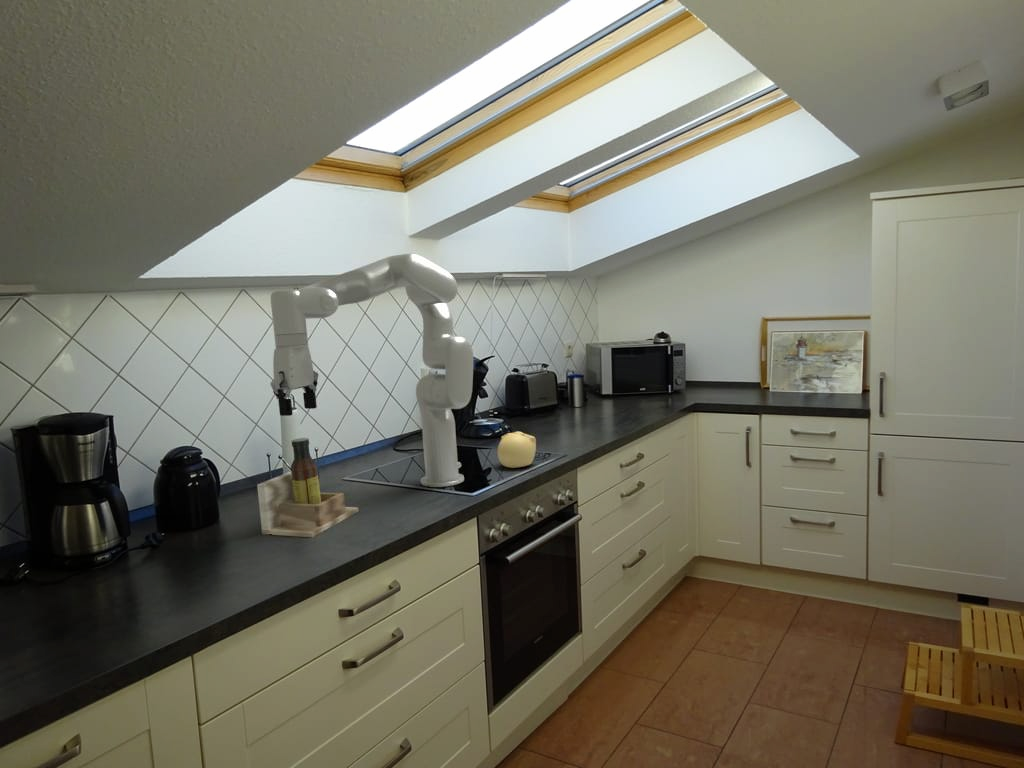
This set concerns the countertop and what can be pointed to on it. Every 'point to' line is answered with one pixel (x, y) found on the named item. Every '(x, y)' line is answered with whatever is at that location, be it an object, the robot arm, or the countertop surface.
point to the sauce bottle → (304, 474)
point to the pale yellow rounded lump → (516, 449)
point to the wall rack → (297, 510)
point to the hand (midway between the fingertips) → (298, 411)
